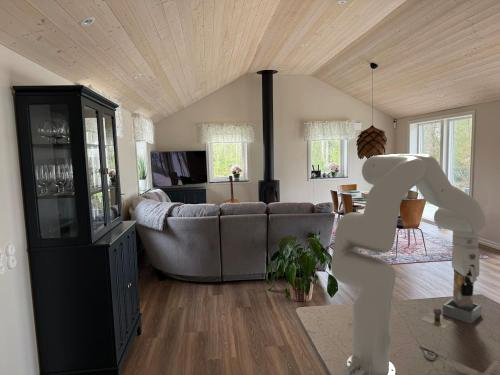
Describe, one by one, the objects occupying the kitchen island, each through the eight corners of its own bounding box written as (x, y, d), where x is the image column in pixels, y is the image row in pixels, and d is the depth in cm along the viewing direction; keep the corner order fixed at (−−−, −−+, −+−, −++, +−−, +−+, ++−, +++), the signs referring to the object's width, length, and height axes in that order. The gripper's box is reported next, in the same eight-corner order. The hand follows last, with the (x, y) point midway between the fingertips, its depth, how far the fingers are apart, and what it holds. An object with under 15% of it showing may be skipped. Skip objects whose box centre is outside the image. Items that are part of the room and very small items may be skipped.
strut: (472, 306, 120) (474, 275, 119) (458, 306, 121) (460, 275, 120) (466, 301, 125) (467, 271, 124) (452, 300, 125) (454, 271, 124)
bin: (471, 327, 117) (471, 313, 117) (442, 318, 124) (442, 304, 123) (480, 319, 123) (481, 305, 122) (452, 310, 130) (453, 297, 129)
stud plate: (444, 332, 115) (445, 316, 114) (419, 323, 121) (420, 307, 120) (454, 324, 120) (455, 308, 119) (430, 316, 126) (430, 301, 125)
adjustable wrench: (437, 362, 100) (437, 356, 100) (413, 360, 101) (413, 354, 101) (414, 319, 125) (414, 314, 124) (394, 318, 126) (394, 313, 126)
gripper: (491, 248, 112) (488, 303, 114) (464, 234, 128) (462, 283, 130) (466, 248, 112) (463, 303, 114) (442, 234, 129) (440, 282, 131)
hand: (462, 291), depth 122 cm, fingers closed on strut, 4 cm apart
